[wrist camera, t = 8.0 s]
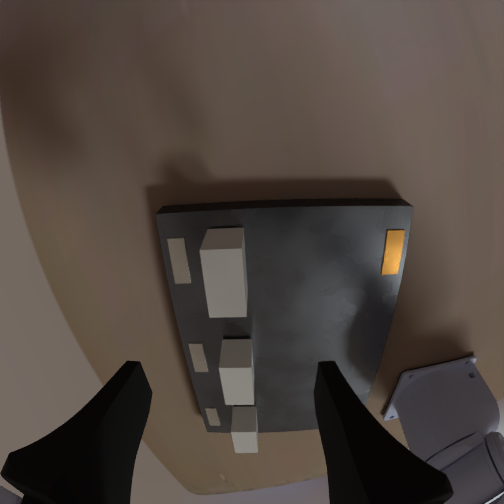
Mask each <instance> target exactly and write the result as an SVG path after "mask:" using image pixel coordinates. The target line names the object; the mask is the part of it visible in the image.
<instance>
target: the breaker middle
mask: <svg viewBox="0 0 504 504" xmlns="http://www.w3.org/2000/svg"><path fill="white" fill-rule="evenodd" d="M219 372H220V378H221V383H222V389H223V394H224V399H225V404H226V405H254V366H253V351H252V339H227V340H222V346H221V354H220V362H219Z"/></svg>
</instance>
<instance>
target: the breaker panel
mask: <svg viewBox="0 0 504 504" xmlns="http://www.w3.org/2000/svg"><path fill="white" fill-rule="evenodd" d="M412 210H413V206H412V205H411V204H409V203H408V202H406V201H405V200H403V199H291V200H261V201H238V202H219V203H202V204H187V205H173V206H163V207H162V208H161V209H160V210H159V211H158V212H157V213H156V220H157V226H158V232H159V238H160V244H161V249H162V255H163V260H164V265H165V270H166V275H167V280H168V285H169V290H170V295H171V299H172V304H173V308H174V313H175V317H176V321H177V326H178V330H179V334H180V338H181V342H182V346H183V350H184V354H185V358H186V361H187V365H188V369H189V372H190V376H191V380H192V383H193V387H194V390H195V394H196V397H197V400H198V404H199V407H200V410H201V414H202V417H203V420H204V423H205V426H206V429H207V432H221V433H231V426H232V411H233V407H254V406H256V409H257V424H258V433H261V432H285V431H299V430H311V429H319V427H318V423H317V418H316V412H315V403H314V387H315V381H316V374H317V367H318V362H320V361H332V360H334V361H335V362H336V364H337V366H338V367H339V369H340V371H341V372H342V374H343V376H344V377H345V379H346V380H347V382H348V383H349V385H350V386H351V388H352V389H353V391H354V392H355V394H356V395H357V396H358V398H359V399H360V400H361V402H362V403H363V404H364V406H365V405H366V402H367V399H368V396H369V394H370V391H371V388H372V385H373V382H374V379H375V376H376V373H377V370H378V367H379V363H380V360H381V357H382V354H383V350H384V347H385V343H386V340H387V336H388V333H389V329H390V325H391V321H392V317H393V313H394V309H395V305H396V301H397V296H398V292H399V287H400V283H401V278H402V273H403V268H404V262H405V257H406V251H407V245H408V239H409V232H410V226H411V218H412ZM222 228H244V240H245V255H246V271H247V286H248V295H247V317H220V318H209V312H208V306H207V299H206V292H205V286H204V279H203V271H202V264H201V257H200V248H201V245H202V242H203V240H204V237H205V235H206V232H207V229H222ZM227 339H252V351H253V366H254V405H226V404H225V399H224V394H223V389H222V383H221V378H220V372H219V362H220V354H221V346H222V340H227Z"/></svg>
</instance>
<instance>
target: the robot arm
mask: <svg viewBox="0 0 504 504" xmlns="http://www.w3.org/2000/svg"><path fill="white" fill-rule="evenodd" d="M476 359H477V358H476V356H470V357H467V358H463V359H459V360H455V361H451V362H447V363H443V364H438V365H434V366H429V367H424V368H420V369H415V370H410V371H405V372H403V373H402V375H401V376H400V379H399V381H398V384H397V386H396V389H395V391H394V393H393V396H392V398H391V400H390V402H389V405H388V407H387V409H386V411H385V413H384V416H383V419H384V420H390V419H395V418H399V420H400V423H401V426H402V429H403V431H404V434H405V437H406V440H407V443H408V446H409V449H410V450H408V449H407V448H406V447H405V446H403V445H402V444H401V443H400V442H398V441H397V440H396V439H395V438H394V437H393V436H392V435H391V434H390V433H389V432H388V431H387V430H386V429H385V428H384V427H383V426H382V425H381V424H380V423H379V422H378V421H377V420H376V419H375V418H374V416H373V415H372V414H371V413H370V412H369V411H368V409H367V408H366V407H365V406H364V404H363V403H362V402H361V400H360V399H359V398H358V396H357V395H356V394H355V392H354V391H353V389H352V388H351V386H350V385H349V383H348V382H347V380H346V379H345V377H344V376H343V374H342V372H341V371H340V369H339V367H338V366H337V364H336V362H335V361H334V360H332V361H320V362H318V367H317V374H316V381H315V387H314V403H315V412H316V418H317V423H318V427H319V432H320V436H321V441H322V445H323V450H324V454H325V459H326V465H327V474H328V485H329V499H330V504H485V503H486V502H488V501H490V500H491V499H493V498H494V497H496V496H497V495H499V494H501V493H502V492H504V437H503V436H502V434H501V433H499V432H496V430H497V428H498V425H499V418H500V415H499V408H498V404H497V401H496V399H495V398H494V396H493V394H492V392H491V391H490V389H489V387H488V386H487V384H486V382H485V381H484V379H483V377H482V376H481V374H480V373H479V371H478V369H477V368H476V366H475V365H474V364H475V362H476ZM151 399H152V390H151V388H150V385H149V383H148V380H147V378H146V375H145V373H144V370H143V368H142V365H141V363H140V362H138V361H126V362H125V364H124V365H123V366H122V367H121V368H120V369H119V370H118V371H117V372H116V373H115V375H114V376H113V377H112V378H111V379H110V380H109V381H108V382H107V383H106V385H105V386H104V387H103V388H102V389H101V390H100V391H99V392H98V393H97V394H96V395H95V396H94V397H93V398H92V399H91V400H90V401H89V402H88V403H87V404H86V405H85V406H84V407H83V408H82V409H81V410H80V411H79V412H78V413H76V414H75V415H74V416H73V417H72V418H70V419H69V420H68V421H67V422H65V423H64V424H63V425H62V426H60V427H58V428H57V429H55V430H54V431H52V432H51V433H50V434H48V435H46V436H45V437H43V438H41V439H39V440H38V441H36V442H34V443H32V444H30V445H28V446H26V447H24V448H21V449H18V450H16V451H14V452H11V453H9V455H8V458H7V460H6V462H5V464H4V466H3V468H2V471H1V473H0V474H1V476H2V477H3V478H4V479H5V480H6V481H7V482H8V483H10V484H11V485H12V486H14V487H15V488H16V489H18V490H19V491H20V492H22V493H23V494H24V496H23V499H22V498H21V497H19V496H18V495H16V494H14V493H12V492H11V491H9V490H7V489H5V488H4V487H2V486H0V504H130V495H131V484H132V477H133V470H134V464H135V459H136V455H137V451H138V448H139V444H140V441H141V438H142V435H143V431H144V428H145V425H146V422H147V418H148V415H149V410H150V405H151ZM489 504H504V494H503V495H502V496H500V497H499V498H497V499H496V500H494V501H493V502H491V503H489Z"/></svg>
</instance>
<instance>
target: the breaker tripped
mask: <svg viewBox="0 0 504 504" xmlns="http://www.w3.org/2000/svg"><path fill="white" fill-rule="evenodd" d="M200 257H201V264H202V271H203V279H204V286H205V292H206V299H207V306H208V312H209V318H220V317H247V295H248V286H247V271H246V255H245V240H244V228H222V229H207V232H206V235H205V237H204V240H203V242H202V245H201V248H200Z"/></svg>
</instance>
